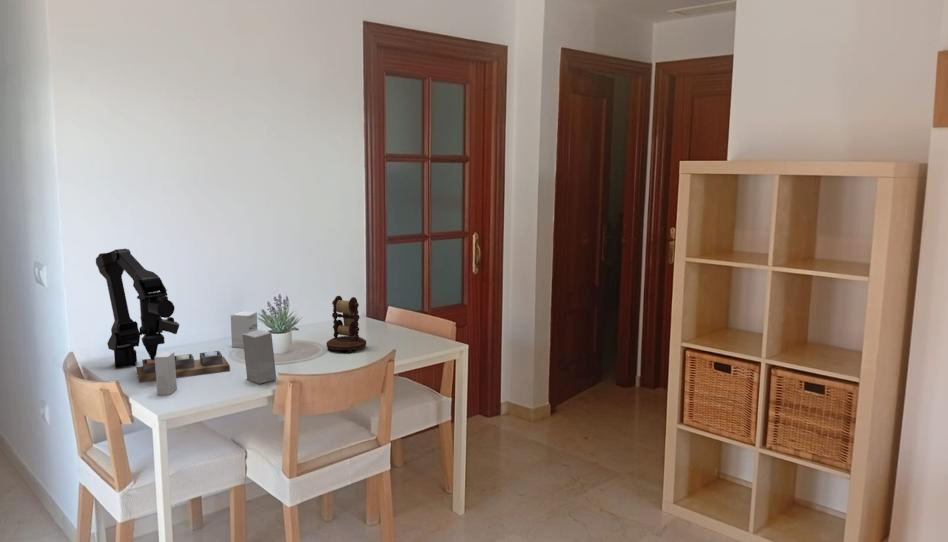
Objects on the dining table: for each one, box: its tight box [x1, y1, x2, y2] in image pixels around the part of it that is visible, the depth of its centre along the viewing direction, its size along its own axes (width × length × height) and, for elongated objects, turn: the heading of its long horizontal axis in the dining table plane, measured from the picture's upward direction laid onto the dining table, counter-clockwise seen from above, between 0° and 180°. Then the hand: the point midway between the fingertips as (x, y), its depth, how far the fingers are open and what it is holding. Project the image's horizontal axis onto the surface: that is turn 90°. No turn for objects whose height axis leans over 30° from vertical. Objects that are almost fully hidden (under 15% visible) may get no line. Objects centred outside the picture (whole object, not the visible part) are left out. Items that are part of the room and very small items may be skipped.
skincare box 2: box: [242, 329, 277, 385], centre depth 239 cm, size 8×7×16 cm
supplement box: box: [230, 311, 259, 349], centre depth 282 cm, size 7×7×13 cm
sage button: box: [176, 354, 189, 360], centre depth 248 cm, size 4×4×3 cm
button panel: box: [135, 350, 231, 383], centre depth 249 cm, size 28×12×5 cm, turn 117°
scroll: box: [326, 295, 367, 354], centre depth 277 cm, size 15×15×20 cm
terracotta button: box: [147, 358, 155, 364], centre depth 244 cm, size 4×4×3 cm
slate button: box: [204, 351, 217, 357], centre depth 253 cm, size 4×4×3 cm
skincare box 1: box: [154, 351, 178, 396], centre depth 227 cm, size 6×4×12 cm
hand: (153, 359), depth 244 cm, fingers closed, pressing on terracotta button
